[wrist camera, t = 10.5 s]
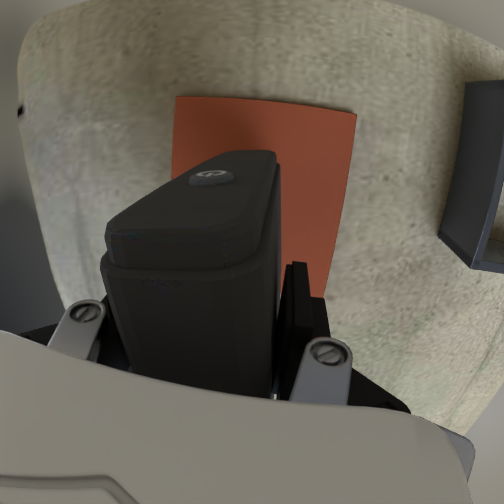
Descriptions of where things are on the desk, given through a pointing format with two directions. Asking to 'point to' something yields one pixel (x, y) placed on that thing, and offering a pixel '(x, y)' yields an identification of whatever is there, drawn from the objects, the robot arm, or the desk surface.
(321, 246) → the mat
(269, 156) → the card reader
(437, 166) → the desk surface
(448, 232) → the grey open bin
